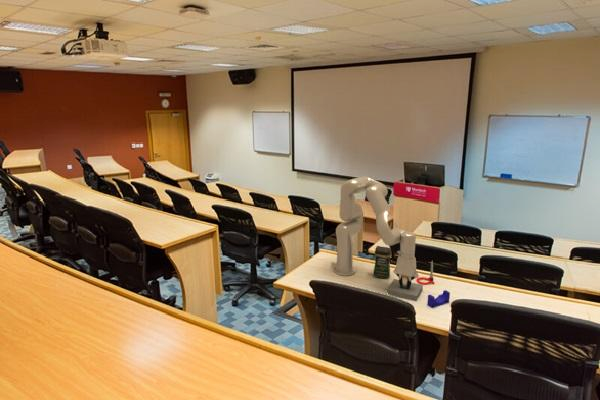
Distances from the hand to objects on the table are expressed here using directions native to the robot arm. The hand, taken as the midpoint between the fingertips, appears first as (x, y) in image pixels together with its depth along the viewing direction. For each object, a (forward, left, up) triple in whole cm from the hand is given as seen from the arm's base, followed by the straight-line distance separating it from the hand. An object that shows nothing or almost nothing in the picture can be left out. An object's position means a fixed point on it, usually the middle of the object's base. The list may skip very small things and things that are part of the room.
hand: (404, 285), depth 203 cm
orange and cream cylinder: (0, 0, -2) cm, 2 cm away
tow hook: (+7, +18, -4) cm, 20 cm away
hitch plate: (0, 0, -4) cm, 4 cm away
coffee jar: (-17, +13, -4) cm, 22 cm away
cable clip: (+18, -4, -4) cm, 19 cm away
